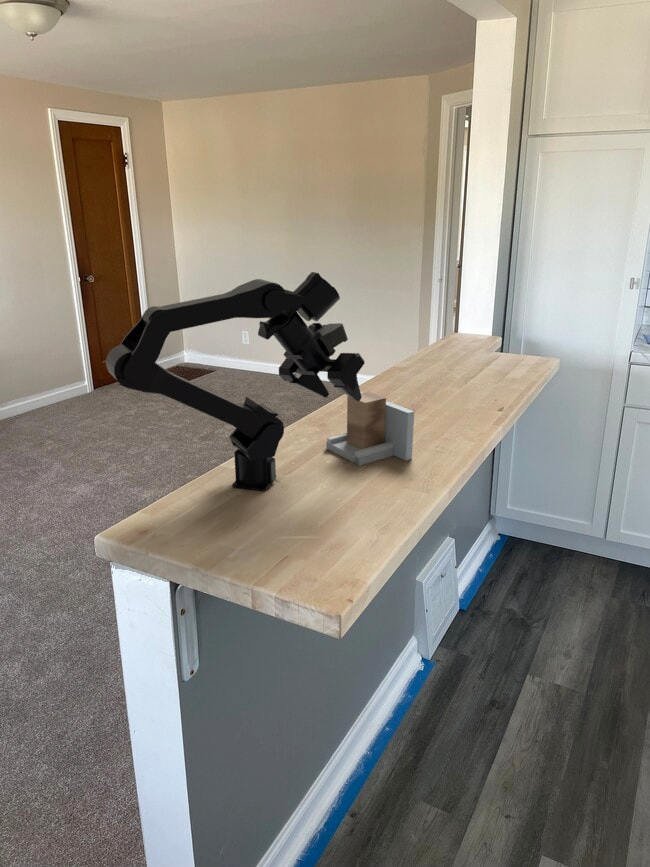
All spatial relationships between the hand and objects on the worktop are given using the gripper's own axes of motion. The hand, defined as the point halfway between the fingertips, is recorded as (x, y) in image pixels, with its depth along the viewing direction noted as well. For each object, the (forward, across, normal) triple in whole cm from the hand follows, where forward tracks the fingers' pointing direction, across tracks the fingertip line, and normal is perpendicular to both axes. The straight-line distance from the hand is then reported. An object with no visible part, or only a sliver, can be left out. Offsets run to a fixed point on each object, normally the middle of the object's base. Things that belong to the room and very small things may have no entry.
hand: (343, 397), depth 122 cm
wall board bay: (+14, +4, +3) cm, 15 cm away
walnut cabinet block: (+14, +3, +1) cm, 14 cm away
